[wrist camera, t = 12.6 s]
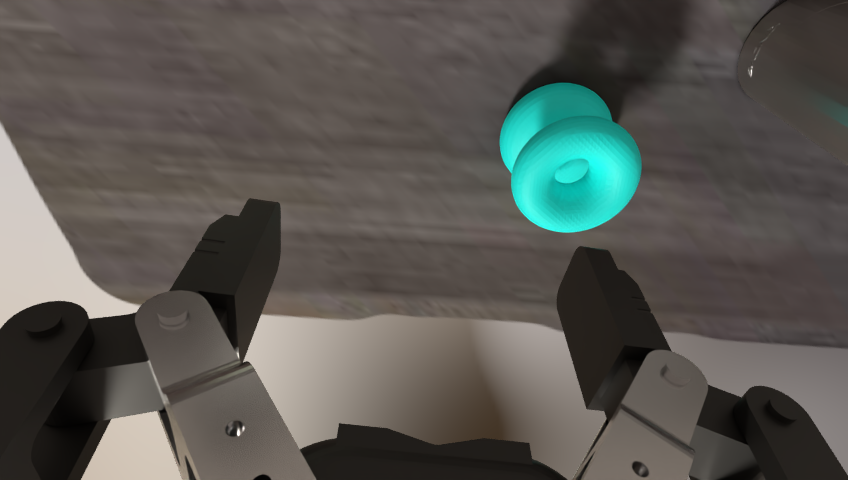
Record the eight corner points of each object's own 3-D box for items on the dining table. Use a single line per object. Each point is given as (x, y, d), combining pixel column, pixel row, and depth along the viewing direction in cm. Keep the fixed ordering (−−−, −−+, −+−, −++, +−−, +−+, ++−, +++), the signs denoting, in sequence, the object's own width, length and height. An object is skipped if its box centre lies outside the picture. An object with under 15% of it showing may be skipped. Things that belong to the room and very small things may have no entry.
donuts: (568, 258, 43) (487, 191, 39) (545, 196, 51) (475, 135, 47) (673, 182, 38) (593, 97, 34) (629, 127, 46) (560, 53, 42)
